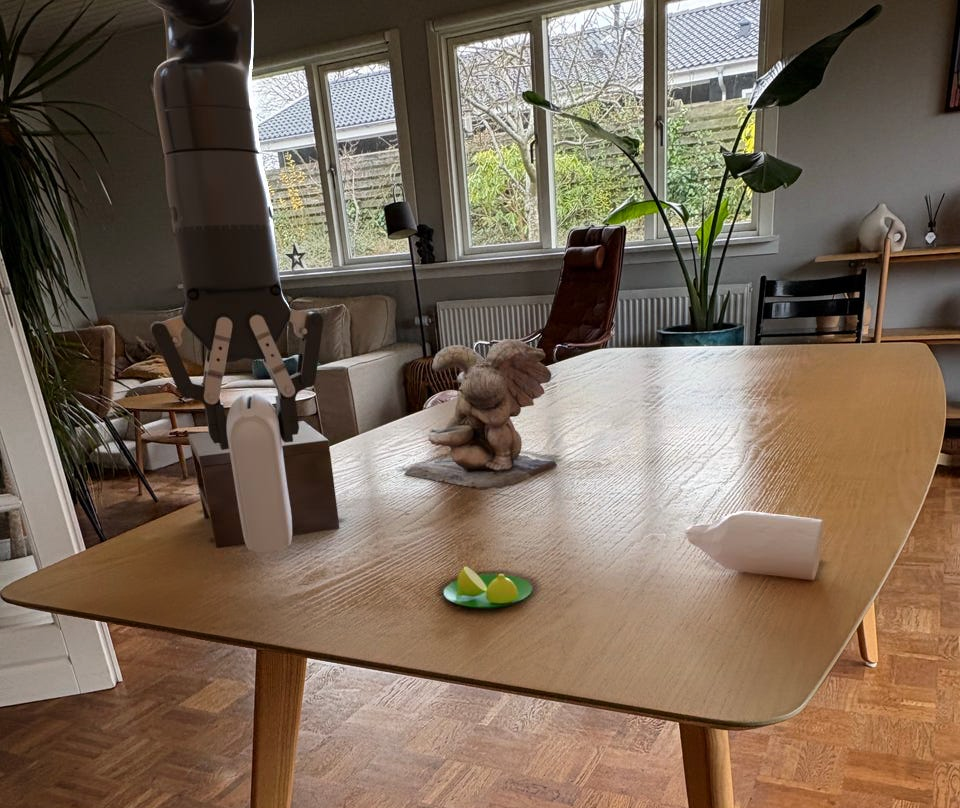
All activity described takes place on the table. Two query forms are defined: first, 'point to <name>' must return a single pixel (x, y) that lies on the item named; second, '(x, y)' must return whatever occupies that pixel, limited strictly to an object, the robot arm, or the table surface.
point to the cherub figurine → (488, 416)
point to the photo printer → (259, 474)
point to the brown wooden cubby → (303, 475)
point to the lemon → (486, 590)
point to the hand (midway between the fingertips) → (256, 443)
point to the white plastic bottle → (762, 543)
